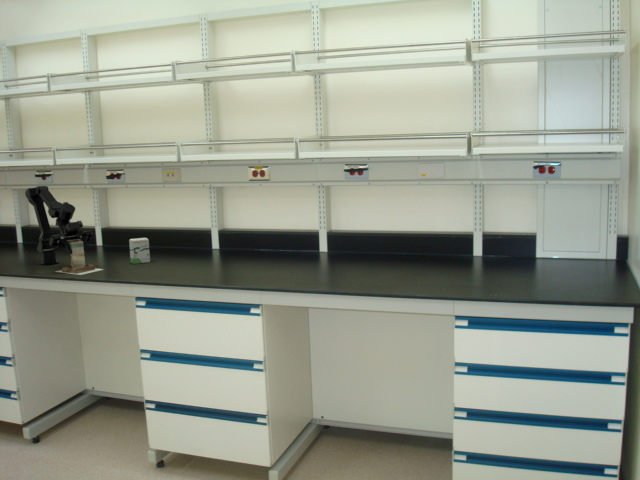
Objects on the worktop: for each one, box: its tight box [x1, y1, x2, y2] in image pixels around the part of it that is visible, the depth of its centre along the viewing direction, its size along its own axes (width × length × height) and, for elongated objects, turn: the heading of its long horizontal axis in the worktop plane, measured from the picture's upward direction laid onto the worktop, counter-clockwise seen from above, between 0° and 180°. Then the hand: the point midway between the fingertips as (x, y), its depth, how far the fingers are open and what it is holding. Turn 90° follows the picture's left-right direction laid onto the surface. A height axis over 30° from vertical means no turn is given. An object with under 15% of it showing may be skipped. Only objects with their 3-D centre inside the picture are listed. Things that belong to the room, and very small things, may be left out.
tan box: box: [68, 240, 86, 269], centre depth 269 cm, size 4×5×13 cm
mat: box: [54, 267, 105, 276], centre depth 271 cm, size 18×13×1 cm
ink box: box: [128, 237, 151, 265], centre depth 288 cm, size 9×5×12 cm, turn 123°
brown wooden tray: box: [61, 263, 96, 275], centre depth 270 cm, size 10×10×2 cm
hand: (78, 252), depth 268 cm, fingers open, 6 cm apart
